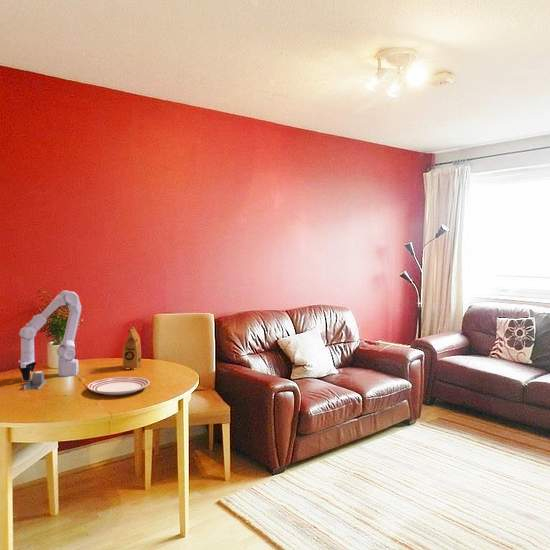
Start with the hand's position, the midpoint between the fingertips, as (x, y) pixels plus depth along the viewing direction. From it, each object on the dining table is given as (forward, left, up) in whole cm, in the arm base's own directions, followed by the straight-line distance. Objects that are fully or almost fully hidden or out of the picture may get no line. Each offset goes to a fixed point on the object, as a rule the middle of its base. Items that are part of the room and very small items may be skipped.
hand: (27, 379), depth 229 cm
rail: (-6, +11, -2) cm, 12 cm away
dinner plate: (-45, +18, -2) cm, 48 cm away
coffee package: (-47, -25, -2) cm, 53 cm away
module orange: (0, 0, -2) cm, 2 cm away
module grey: (-6, +6, 0) cm, 9 cm away
